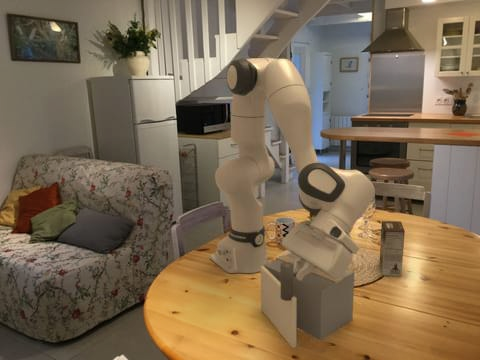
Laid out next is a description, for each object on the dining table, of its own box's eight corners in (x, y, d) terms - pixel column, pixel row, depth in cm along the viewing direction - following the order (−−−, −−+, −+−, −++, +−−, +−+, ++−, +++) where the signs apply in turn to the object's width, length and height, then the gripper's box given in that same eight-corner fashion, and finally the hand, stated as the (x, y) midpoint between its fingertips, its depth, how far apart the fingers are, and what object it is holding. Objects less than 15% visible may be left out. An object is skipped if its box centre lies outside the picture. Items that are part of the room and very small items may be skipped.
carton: (263, 309, 120) (262, 263, 117) (296, 292, 129) (296, 249, 126) (321, 341, 106) (322, 289, 102) (353, 319, 115) (355, 271, 111)
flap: (254, 310, 118) (253, 240, 113) (264, 308, 119) (263, 238, 114) (285, 349, 101) (284, 269, 96) (296, 346, 102) (296, 266, 97)
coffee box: (378, 263, 147) (381, 220, 143) (398, 264, 146) (400, 221, 142) (381, 275, 139) (384, 229, 135) (402, 277, 137) (405, 230, 133)
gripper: (296, 212, 109) (264, 255, 107) (349, 236, 92) (313, 288, 90) (310, 225, 112) (279, 267, 110) (364, 251, 95) (329, 302, 93)
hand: (294, 277), depth 100 cm, fingers closed, pressing on flap
